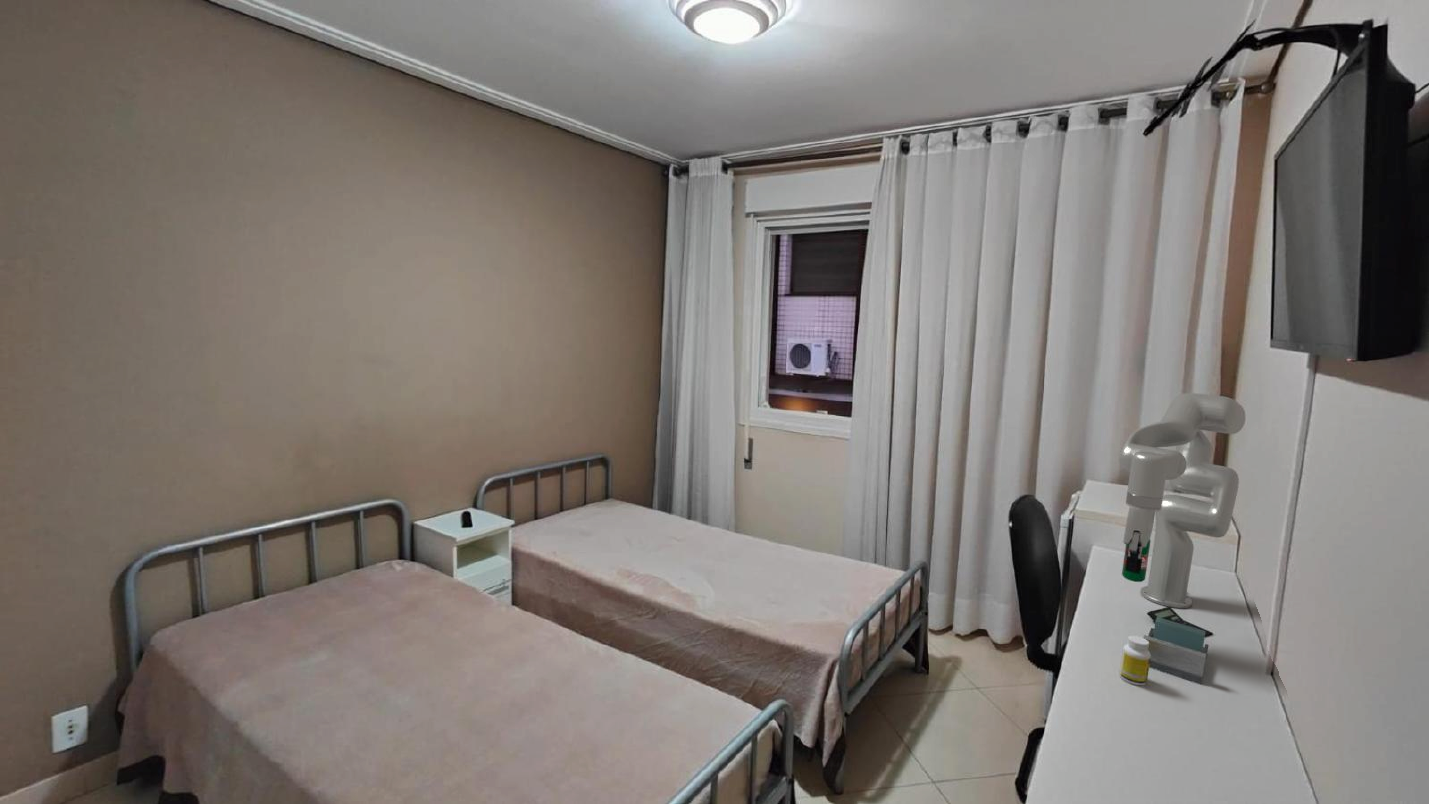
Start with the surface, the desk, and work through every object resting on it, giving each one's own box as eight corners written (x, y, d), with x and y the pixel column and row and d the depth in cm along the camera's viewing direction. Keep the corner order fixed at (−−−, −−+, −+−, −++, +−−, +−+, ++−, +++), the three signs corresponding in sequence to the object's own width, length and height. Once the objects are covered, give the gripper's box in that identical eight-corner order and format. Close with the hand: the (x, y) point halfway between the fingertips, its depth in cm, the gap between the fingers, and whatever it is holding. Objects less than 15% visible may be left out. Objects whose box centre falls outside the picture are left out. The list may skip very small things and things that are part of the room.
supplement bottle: (1150, 688, 144) (1156, 648, 142) (1123, 683, 145) (1128, 643, 144) (1142, 675, 149) (1148, 636, 147) (1115, 670, 151) (1121, 632, 149)
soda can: (1136, 584, 161) (1142, 538, 159) (1117, 576, 166) (1123, 532, 164) (1149, 581, 163) (1155, 536, 161) (1129, 573, 168) (1135, 529, 166)
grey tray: (1150, 636, 167) (1153, 613, 166) (1207, 654, 160) (1211, 629, 159) (1139, 663, 154) (1142, 638, 153) (1200, 684, 146) (1205, 658, 145)
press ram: (1154, 635, 165) (1157, 617, 164) (1202, 649, 158) (1205, 631, 158) (1152, 639, 163) (1155, 621, 162) (1201, 654, 156) (1204, 635, 155)
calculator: (1190, 642, 166) (1192, 631, 166) (1145, 621, 176) (1147, 611, 176) (1212, 635, 170) (1214, 625, 169) (1166, 615, 180) (1168, 605, 180)
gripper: (1132, 490, 170) (1123, 555, 173) (1120, 504, 157) (1111, 574, 160) (1166, 496, 165) (1156, 563, 168) (1157, 512, 153) (1146, 583, 155)
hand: (1134, 568), depth 164 cm, fingers closed on soda can, 5 cm apart
